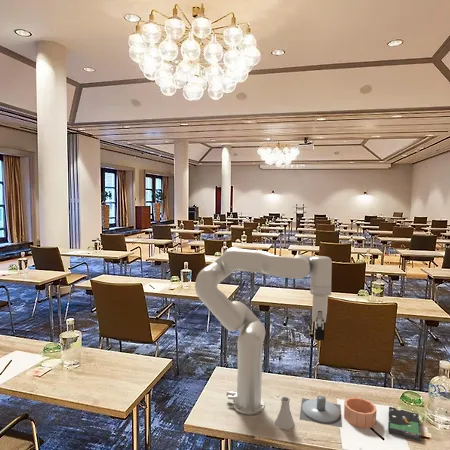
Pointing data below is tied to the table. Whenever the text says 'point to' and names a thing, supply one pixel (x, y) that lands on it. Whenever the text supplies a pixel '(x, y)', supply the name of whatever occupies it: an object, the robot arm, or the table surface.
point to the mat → (336, 423)
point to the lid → (321, 410)
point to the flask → (285, 415)
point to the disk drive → (404, 424)
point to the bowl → (354, 410)
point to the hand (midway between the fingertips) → (320, 335)
